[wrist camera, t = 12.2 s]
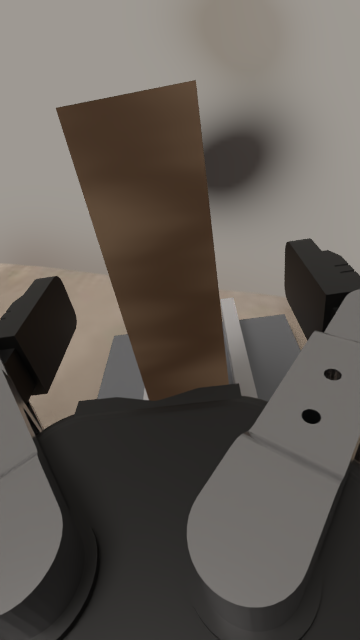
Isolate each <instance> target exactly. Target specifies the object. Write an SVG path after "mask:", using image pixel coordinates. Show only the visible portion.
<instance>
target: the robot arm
mask: <svg viewBox="0 0 360 640" xmlns="http://www.w3.org/2000/svg"><path fill="white" fill-rule="evenodd" d="M285 293H286V298H287V300H288V303H289V305H290V307H291V309H292V311H293V313H294V315H295V317H296V319H297V321H298V323H299V325H300V327H301V328H302V330H303V332H304V334H305V336H306V338H307V340H308V341H307V343H306V344H305V346H304V347H303V349H302V350H301V352H300V353H299V355H298V357H297V358H296V360H295V361H294V363H293V364H292V366H291V367H290V369H289V371H288V372H287V374H286V375H285V377H284V378H283V380H282V381H281V383H280V385H279V386H278V388H277V389H276V391H275V392H274V394H273V395H272V397H271V399H270V400H269V402H268V401H265V400H262V399H258V398H253V397H249V396H241V391H240V386H239V383H237V384H228V385H219V386H210V387H201V388H196V389H193V390H190V391H187V392H184V393H180V394H177V395H174V396H171V397H168V398H165V399H161V400H157V401H151V400H141V399H132V398H122V397H112V398H103V399H94V400H85V401H79V402H78V406H77V409H76V412H75V414H74V415H71V416H69V417H66V418H64V419H62V420H60V421H58V422H56V423H54V424H52V425H51V426H49V427H47V428H46V429H44V428H43V426H42V424H41V422H40V420H39V418H38V416H37V414H36V412H35V410H34V408H33V406H32V405H31V403H30V401H29V399H30V396H31V395H40V394H47V393H48V391H49V389H50V386H51V384H52V382H53V380H54V377H55V375H56V373H57V370H58V368H59V366H60V364H61V361H62V359H63V357H64V354H65V352H66V350H67V347H68V345H69V343H70V341H71V338H72V336H73V334H74V331H75V329H76V324H77V320H76V314H75V311H74V309H73V306H72V304H71V302H70V299H69V297H68V294H67V292H66V290H65V287H64V285H63V283H62V281H61V279H60V278H59V277H58V276H54V277H47V278H40V279H36V280H35V281H34V282H33V283H32V284H31V286H30V287H29V288H28V290H27V291H26V292H25V294H24V295H23V296H21V297H20V298H19V299H17V300H16V301H15V302H13V303H12V305H11V306H10V307H9V308H8V310H7V311H6V313H5V314H4V315H3V316H2V317H1V320H0V640H360V276H359V274H358V273H357V272H354V269H353V268H352V267H351V266H350V265H348V263H347V262H346V261H345V260H344V259H343V258H342V257H341V256H340V255H338V254H335V253H333V252H331V251H328V250H327V251H321V250H320V249H319V248H318V246H317V245H316V244H315V243H314V242H313V241H312V239H303V240H296V241H290V242H287V243H286V248H285Z"/></svg>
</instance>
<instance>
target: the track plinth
mask: <svg viewBox="0 0 360 640" xmlns="http://www.w3.org/2000/svg"><path fill="white" fill-rule="evenodd" d="M220 301H221V310H222V319H223V322H222V326H223V335H224V344H225V353H226V363H227V372H228V381H229V384H237V383H239V386H240V391H241V396H249V397H253V398H258V399H262V400H265V401H268V402H269V400H270V399H271V397H272V395H273V394H274V392H275V391H276V389H277V388H278V386H279V385H280V383H281V381H282V380H283V378H284V377H285V375H286V374H287V372H288V371H289V369H290V367H291V366H292V364H293V363H294V361H295V360H296V358H297V357H298V355H299V353H300V352H301V350H300V348H299V346H298V344H297V341H296V339H295V337H294V335H293V333H292V330H291V328H290V326H289V324H288V321H287V319H286V317H285V315H284V314H282V315H275V316H267V317H259V318H251V319H243V320H239V319H238V315H237V311H236V306H235V302H234V298H226V299H220ZM112 397H122V398H132V399H141V400H149V399H148V396H147V393H146V389H145V386H144V383H143V380H142V377H141V374H140V371H139V367H138V364H137V361H136V358H135V355H134V352H133V349H132V346H131V342H130V339H129V336H128V334H126V335H118V336H114V339H113V342H112V346H111V350H110V353H109V357H108V361H107V364H106V368H105V372H104V375H103V379H102V383H101V387H100V390H99V394H98V398H97V399H103V398H112Z"/></svg>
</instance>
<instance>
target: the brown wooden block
mask: <svg viewBox="0 0 360 640" xmlns="http://www.w3.org/2000/svg"><path fill="white" fill-rule="evenodd" d="M56 110H57V113H58V117H59V119H60V123H61V126H62V129H63V132H64V135H65V138H66V142H67V145H68V148H69V151H70V154H71V157H72V160H73V164H74V167H75V170H76V173H77V176H78V179H79V182H80V185H81V189H82V192H83V195H84V198H85V201H86V204H87V207H88V210H89V214H90V217H91V220H92V223H93V226H94V229H95V233H96V236H97V239H98V242H99V245H100V248H101V251H102V255H103V258H104V260H105V264H106V267H107V270H108V273H109V277H110V280H111V283H112V286H113V289H114V292H115V295H116V298H117V302H118V305H119V308H120V311H121V314H122V317H123V320H124V324H125V327H126V330H127V333H128V336H129V339H130V342H131V346H132V349H133V352H134V355H135V358H136V361H137V364H138V367H139V371H140V374H141V377H142V380H143V383H144V386H145V389H146V393H147V396H148V399H149V400H151V401H157V400H161V399H165V398H168V397H171V396H174V395H177V394H180V393H184V392H187V391H190V390H193V389H196V388H201V387H210V386H219V385H228V384H229V381H228V372H227V363H226V353H225V344H224V335H223V326H222V317H221V308H220V298H219V289H218V280H217V271H216V262H215V253H214V243H213V234H212V226H211V216H210V208H209V198H208V188H207V179H206V170H205V162H204V152H203V143H202V133H201V124H200V116H199V107H198V97H197V88H196V81H195V80H194V81H189V82H184V83H179V84H174V85H169V86H164V87H159V88H154V89H149V90H144V91H139V92H134V93H129V94H124V95H119V96H114V97H109V98H104V99H99V100H94V101H89V102H84V103H79V104H74V105H69V106H64V107H59V108H56Z"/></svg>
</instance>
